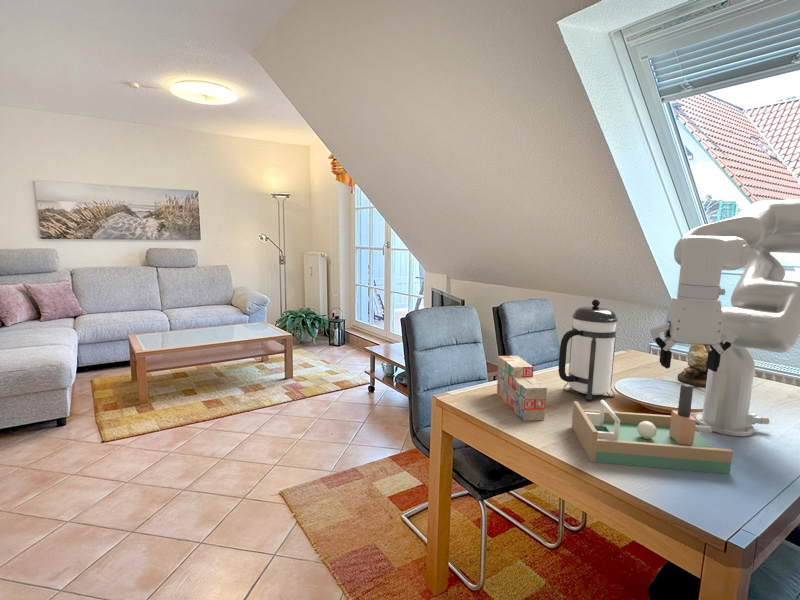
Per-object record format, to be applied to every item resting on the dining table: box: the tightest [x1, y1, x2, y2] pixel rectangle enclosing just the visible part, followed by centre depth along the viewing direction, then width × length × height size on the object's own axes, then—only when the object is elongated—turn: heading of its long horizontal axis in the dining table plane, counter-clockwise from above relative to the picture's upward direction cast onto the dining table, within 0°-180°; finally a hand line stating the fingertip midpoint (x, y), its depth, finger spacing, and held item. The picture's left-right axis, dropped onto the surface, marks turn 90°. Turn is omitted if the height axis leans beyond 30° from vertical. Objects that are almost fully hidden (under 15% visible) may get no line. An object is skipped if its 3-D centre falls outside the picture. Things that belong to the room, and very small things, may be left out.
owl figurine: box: [677, 344, 710, 388], centre depth 154 cm, size 18×12×17 cm, turn 135°
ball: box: [637, 421, 657, 439], centre depth 104 cm, size 4×4×4 cm
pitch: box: [571, 399, 734, 475], centre depth 104 cm, size 28×18×9 cm, turn 81°
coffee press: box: [558, 299, 619, 402], centre depth 137 cm, size 17×16×30 cm
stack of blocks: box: [496, 355, 548, 422], centre depth 129 cm, size 21×6×12 cm, turn 7°
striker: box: [669, 383, 713, 445], centre depth 102 cm, size 8×5×13 cm, turn 81°
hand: (688, 368), depth 100 cm, fingers open, 9 cm apart
